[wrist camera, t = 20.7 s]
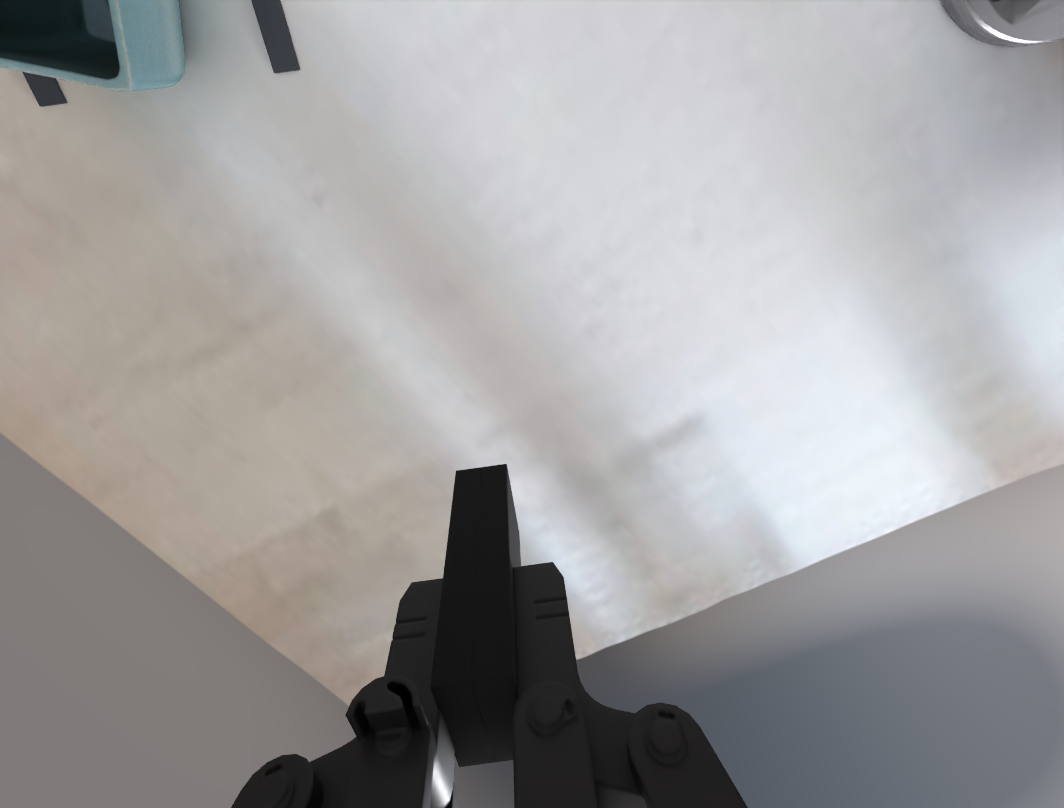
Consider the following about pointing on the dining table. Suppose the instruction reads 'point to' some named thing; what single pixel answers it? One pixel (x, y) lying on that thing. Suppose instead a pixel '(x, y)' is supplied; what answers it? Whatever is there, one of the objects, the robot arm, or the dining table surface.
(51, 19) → the flower pot
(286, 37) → the tape marks
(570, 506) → the dining table surface
